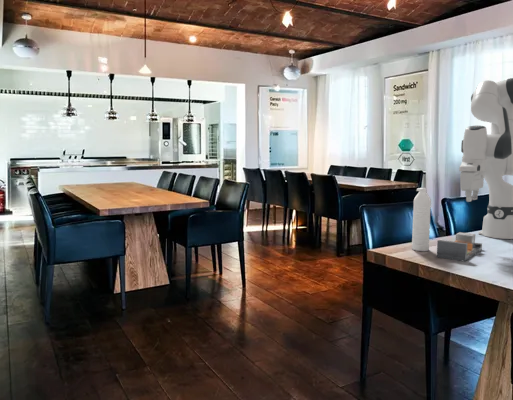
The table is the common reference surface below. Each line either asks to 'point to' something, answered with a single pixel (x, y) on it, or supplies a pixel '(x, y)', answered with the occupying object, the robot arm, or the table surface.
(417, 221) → the water bottle
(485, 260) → the table surface
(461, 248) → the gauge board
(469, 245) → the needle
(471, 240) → the tan block
